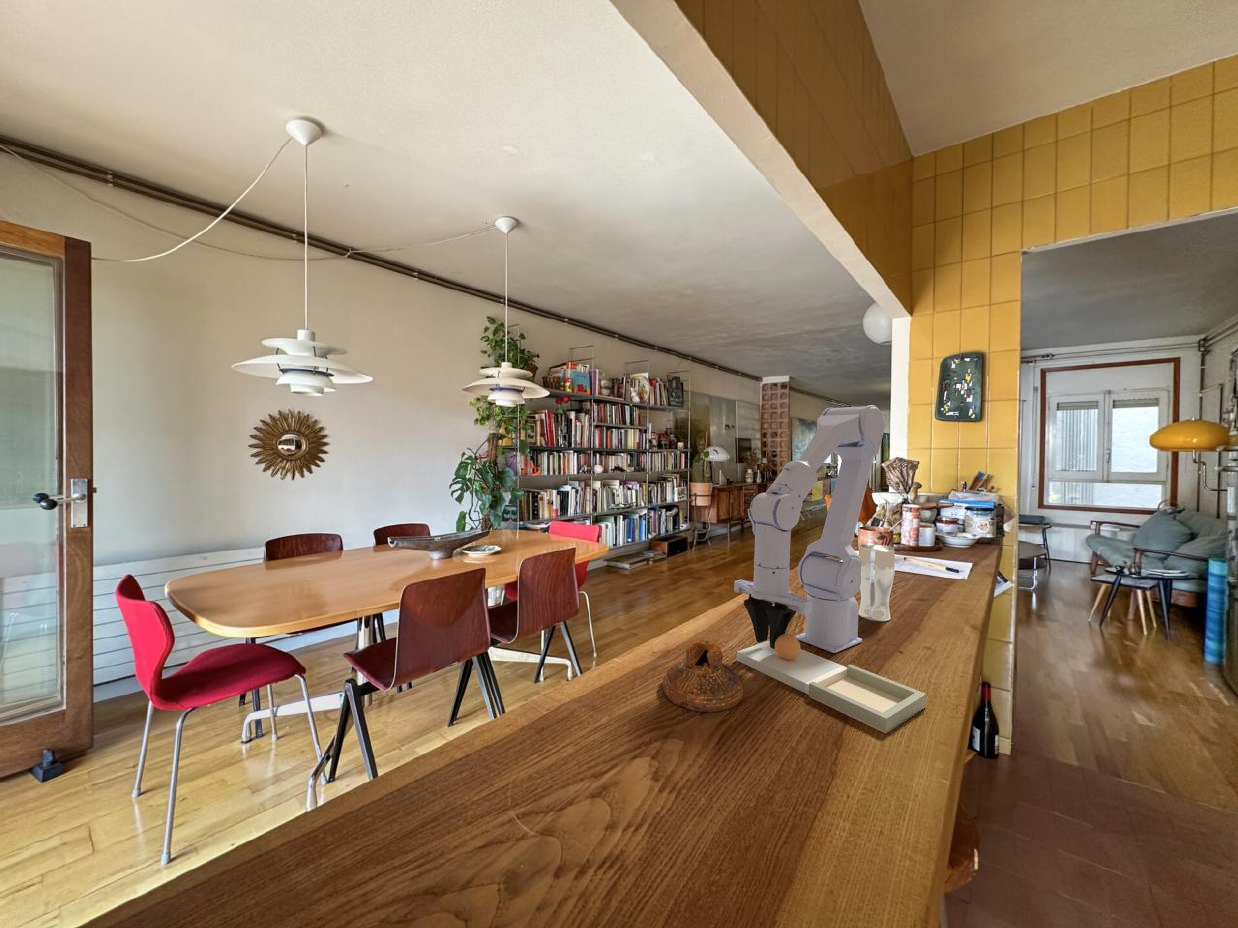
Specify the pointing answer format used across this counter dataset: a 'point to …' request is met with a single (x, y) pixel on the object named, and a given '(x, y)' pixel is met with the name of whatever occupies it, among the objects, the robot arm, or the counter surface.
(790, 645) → the ball
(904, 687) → the tray
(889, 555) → the beer glass
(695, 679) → the bell
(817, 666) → the plate
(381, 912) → the counter surface
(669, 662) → the counter surface
